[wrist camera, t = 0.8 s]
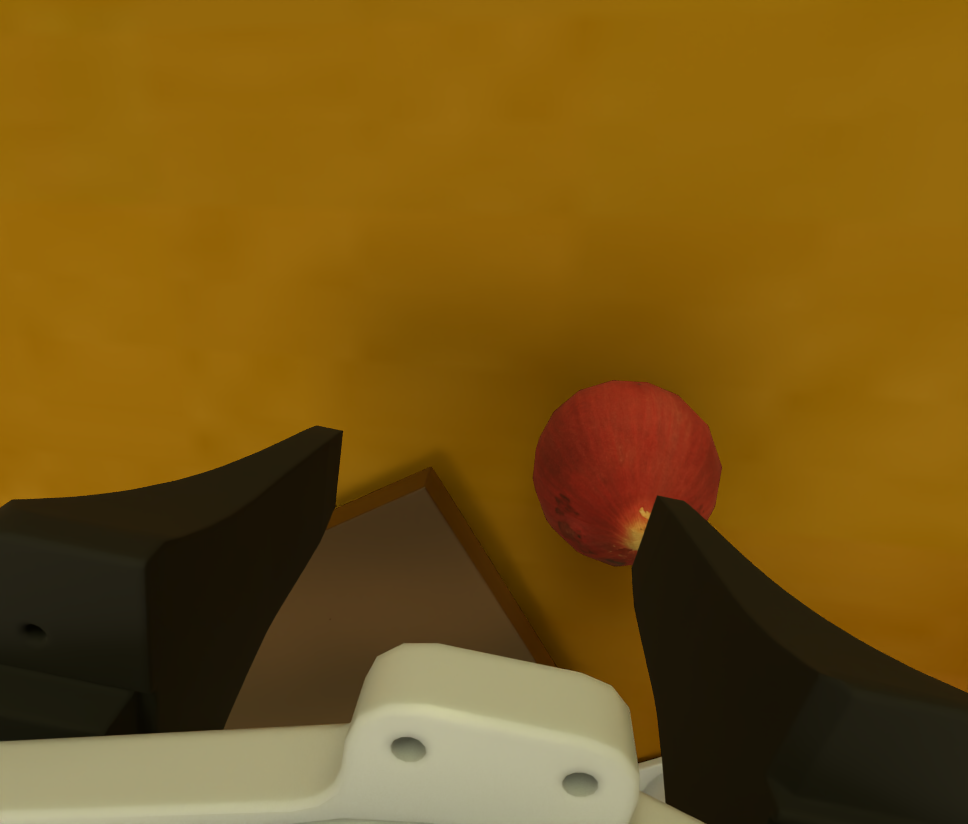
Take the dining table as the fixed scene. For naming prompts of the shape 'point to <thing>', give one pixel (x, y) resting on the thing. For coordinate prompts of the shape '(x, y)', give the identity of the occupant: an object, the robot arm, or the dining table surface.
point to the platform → (379, 606)
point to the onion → (621, 466)
